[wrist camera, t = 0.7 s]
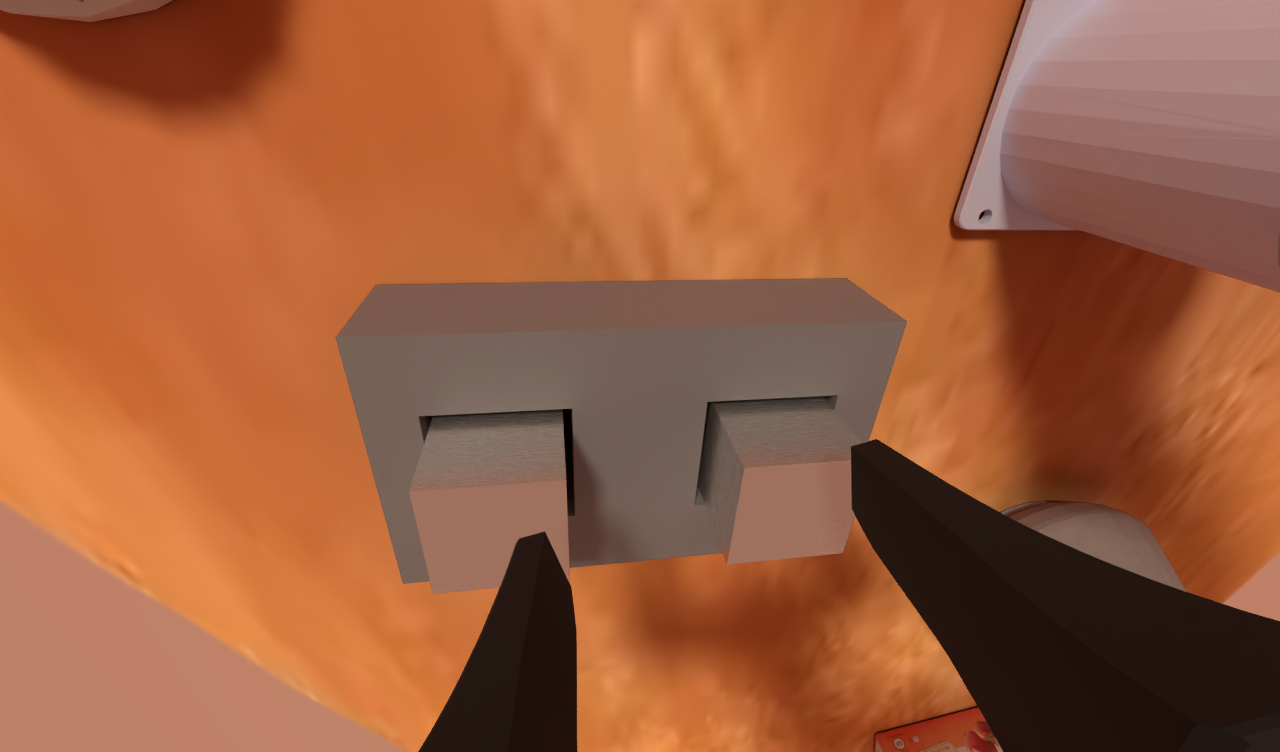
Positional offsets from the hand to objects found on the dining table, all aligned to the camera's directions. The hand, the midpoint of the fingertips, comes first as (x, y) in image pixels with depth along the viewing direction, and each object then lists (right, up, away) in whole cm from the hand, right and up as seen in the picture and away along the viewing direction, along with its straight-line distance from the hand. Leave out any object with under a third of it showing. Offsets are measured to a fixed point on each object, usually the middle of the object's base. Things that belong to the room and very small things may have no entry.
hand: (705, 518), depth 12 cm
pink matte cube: (+3, +1, +7) cm, 8 cm away
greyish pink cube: (-6, +1, +6) cm, 9 cm away
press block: (-2, +2, +9) cm, 10 cm away
